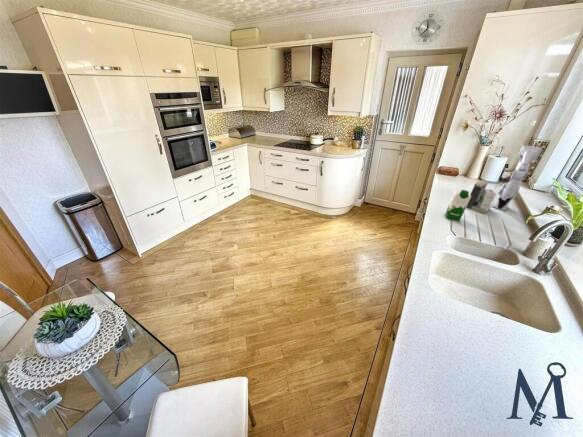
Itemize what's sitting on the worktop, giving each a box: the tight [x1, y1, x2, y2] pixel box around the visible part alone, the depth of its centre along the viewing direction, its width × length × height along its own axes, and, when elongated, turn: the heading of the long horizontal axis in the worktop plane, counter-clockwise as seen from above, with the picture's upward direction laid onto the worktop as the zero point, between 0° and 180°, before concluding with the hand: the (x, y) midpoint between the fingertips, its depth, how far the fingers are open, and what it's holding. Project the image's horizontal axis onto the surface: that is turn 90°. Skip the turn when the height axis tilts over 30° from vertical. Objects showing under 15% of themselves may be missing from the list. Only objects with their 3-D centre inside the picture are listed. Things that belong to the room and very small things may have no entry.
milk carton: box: [445, 189, 471, 222], centre depth 150 cm, size 9×9×20 cm
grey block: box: [466, 179, 492, 214], centre depth 165 cm, size 14×12×18 cm
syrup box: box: [476, 188, 497, 212], centre depth 164 cm, size 6×6×14 cm
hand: (501, 207), depth 158 cm, fingers open, 7 cm apart
